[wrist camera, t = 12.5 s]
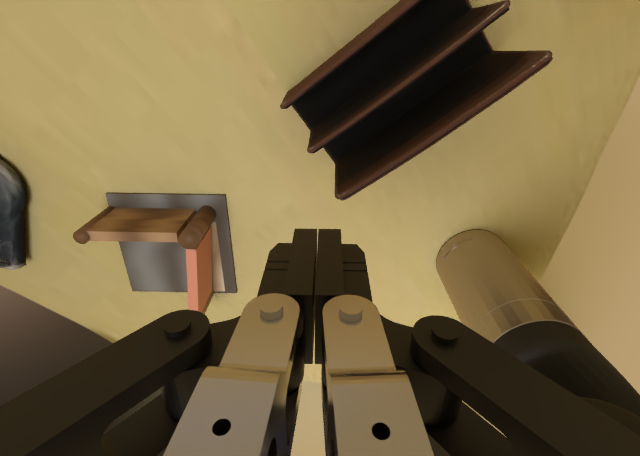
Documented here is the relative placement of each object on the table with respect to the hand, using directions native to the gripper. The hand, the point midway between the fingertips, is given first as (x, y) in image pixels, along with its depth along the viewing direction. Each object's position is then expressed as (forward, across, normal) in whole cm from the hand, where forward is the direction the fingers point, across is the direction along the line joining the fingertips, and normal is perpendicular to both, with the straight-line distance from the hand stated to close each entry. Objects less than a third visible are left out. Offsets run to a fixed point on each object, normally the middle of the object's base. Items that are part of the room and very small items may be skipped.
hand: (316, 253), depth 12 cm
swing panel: (+31, +16, +21) cm, 41 cm away
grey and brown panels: (+32, +20, +18) cm, 42 cm away
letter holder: (+32, -6, -3) cm, 33 cm away
